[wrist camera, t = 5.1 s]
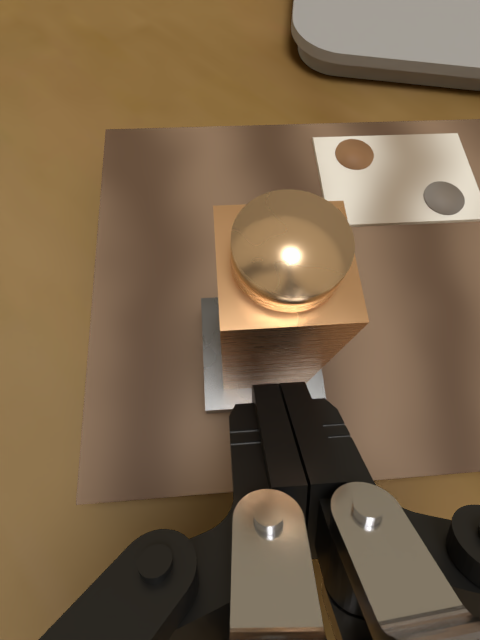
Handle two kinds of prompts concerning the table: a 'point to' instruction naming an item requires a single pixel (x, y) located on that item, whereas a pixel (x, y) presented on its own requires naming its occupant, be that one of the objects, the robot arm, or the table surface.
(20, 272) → the table surface
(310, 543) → the robot arm
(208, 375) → the copper switch
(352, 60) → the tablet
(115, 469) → the switch board
